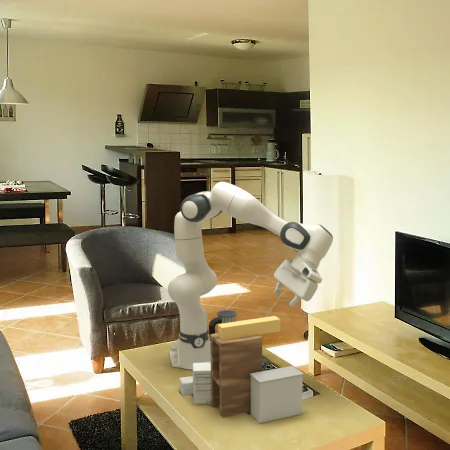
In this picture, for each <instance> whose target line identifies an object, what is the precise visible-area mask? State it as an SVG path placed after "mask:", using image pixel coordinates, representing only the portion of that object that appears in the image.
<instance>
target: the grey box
mask: <svg viewBox="0 0 450 450" xmlns="http://www.w3.org/2000/svg"><path fill="white" fill-rule="evenodd" d="M250 376H251V411H250V415H251V416H252V417H253V418H254V419H255V420H256V421H257V422H258V423H259V424H262V423H267V422H271V421H275V420H281V419H283V418H284V419H285V418H288V417H294V416H298V415H302V414H303V381H304V380H303V376H304V373H303V372H302V371H301V370H299V369H298V368H297V367H295V366H294V365H288V366H285V367H284V366H283V367H278V368H273V369H272V368H271V369H268V370H262V371H261V372H256V373H250Z"/></svg>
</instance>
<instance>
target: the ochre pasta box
mask: <svg viewBox="0 0 450 450" xmlns="http://www.w3.org/2000/svg"><path fill="white" fill-rule="evenodd" d="M278 332H281V318H280V317H278V316H276V315H271V316H266V317H258V318H251V319H245V320H244V319H243V320H238V321H237V320H236V322H230V323H223V324H218V337H219V338H220V339H221V340H228V339H235V338H241V337H247V336H254V335H259V336H261V335H265V334H271V333H272V334H273V333H278Z"/></svg>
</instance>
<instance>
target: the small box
mask: <svg viewBox="0 0 450 450" xmlns="http://www.w3.org/2000/svg"><path fill="white" fill-rule="evenodd" d="M179 391H180V393H181V395H182V396H183V397H185V396H192V395H193V375H192V376H191V375H190V376H185V377H184V376H183V377H179ZM193 396H194V395H193Z"/></svg>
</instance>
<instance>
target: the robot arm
mask: <svg viewBox="0 0 450 450" xmlns="http://www.w3.org/2000/svg"><path fill="white" fill-rule="evenodd" d="M222 212H224V213H225V214H227V216H228V215H229V216H230V217H232V218H234V219H236V220H239V221H241V222H245V223H248V224H252V225H254V226H258V227H262V228H264V229H266V230H268V231H269V232H272V233H273V234H275V235H277V236H278V237H279V238H280V240H281V242H282V243H283V244H284V245H285V247H287V248H289V249H290V250H293V251H294V252H297V254H296V255H295V257H294V258H293V259H292V258H286V259H284V261H283V262H282V263H281V264H280V265H279V266H278V267H277V269H276V270H275V271H274V273H273V278H274V279H276V280H277V282H276V285H275V289H274V292H273V293H274V294H275V295H276V296H281V293H282V291H281V290H282V287H286V288H287V289H289V290H290V291H291V292H292V293H293V294H295V295H294V298H293V299H292V300H291V299H290V300H289V301H288V302H287V305H288V306H290V307H291V308H294V306H295V305H296V304H298V303H299V302H300V301H301V300H303V301H305V302H309V301H311V299H313V297H314V295H315V293H316V292H317V290H318V287H319V284H321V283H322V281H323V278H322V276H321V274H320V272H319V271H318V269H319V266H320V263H321V261H322V260H323V259H324V258H325V257H326V255H327V254H328V252H329V250H330V248H331V246H332V244H333V240H334V237H333V234H332V233H331V232H330V231H329V230H328V229H327V228H326V227H324V226H323V225H322V224H319V223H317V224H306V223H302V222H301V223H300V222H296V221H290V222H288V221H286V220H285V219H284V218H281V217H279V216H277V215H276V214H274V213H273V212H272V211H270V210H269V209H268V208H267V207H266V206H265V205H264V204H263V203H262V202H261V201H260V200H258V199H257V198H256V197H255V196H254V195H252V194H251V193H250V192H248V191H246V190H244V189H243V188H241V187H239V186H237V185H235V184H231V183H229V182H226V181H219V182H217V183H216V184H215V185H213V187H212V188H211V189H210V190H208V191H200V192H199V191H198V192H197V193H194V194H191V195H188V196H186V197H185V198H184V199H183V200H182V201H181V204H180V211H179V212H177V213H176V215H175V216H174V222H173V224H174V226H173V229H174V230H173V231H174V233H173V234H174V245H175V253H176V258H177V260H178V261H179V262H181V263H182V265H183V266H184V269H185V270H184V271H185V273H182V274H180V275H177V276H176V277H175V278H173V279H171V281H170V282H168V285H167V293H168V296H169V298H170V299H171V300H172V302H173V301H174V302H175V304H176V306H177V308H178V313H179V325H180V326H179V327H180V329H179V331H178V338H177V339H176V340H175V341H174V343H173V345H172V346H171V350H170V351H169V352H168V356H169V358H170V362H171V366H172V367H173V368H181V369H185V370H192V371H193V363H205V362H211V345H210V338H209V328H208V312H207V310H206V309H205V308H204V307H203V306H202V304H201V297H202V296H204V295H207V294H208V293H210V292H211V291H213V290H214V289H215V287H216V286H217V284H218V276H217V274H216V272H215V271H214V270H213V269H212V268H211V267H210V266H209V264H208V262H207V259H206V257H205V256H206V255H205V253H204V252H205V250H204V242H203V233H202V224H203V223H204V221H209V220H211V219H213V218H216V217H217V216H219V215H220V214H221V213H222Z"/></svg>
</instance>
